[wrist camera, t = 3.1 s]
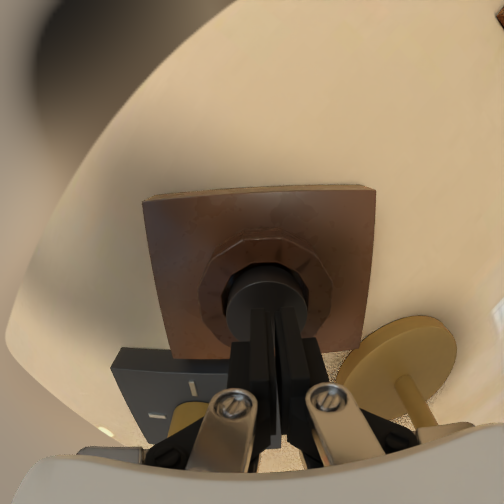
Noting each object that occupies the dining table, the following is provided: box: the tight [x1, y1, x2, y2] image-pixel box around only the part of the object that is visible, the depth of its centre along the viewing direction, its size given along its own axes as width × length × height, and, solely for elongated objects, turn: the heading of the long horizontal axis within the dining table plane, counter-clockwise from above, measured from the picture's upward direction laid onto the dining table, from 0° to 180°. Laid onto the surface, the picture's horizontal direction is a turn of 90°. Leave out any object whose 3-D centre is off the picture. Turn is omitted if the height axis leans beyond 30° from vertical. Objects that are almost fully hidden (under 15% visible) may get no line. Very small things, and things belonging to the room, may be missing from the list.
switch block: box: [142, 185, 376, 359], centre depth 16 cm, size 12×10×4 cm
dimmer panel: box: [110, 348, 281, 449], centre depth 20 cm, size 12×10×3 cm
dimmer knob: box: [167, 402, 209, 438], centre depth 16 cm, size 4×4×5 cm
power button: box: [226, 265, 307, 348], centre depth 13 cm, size 4×4×2 cm
